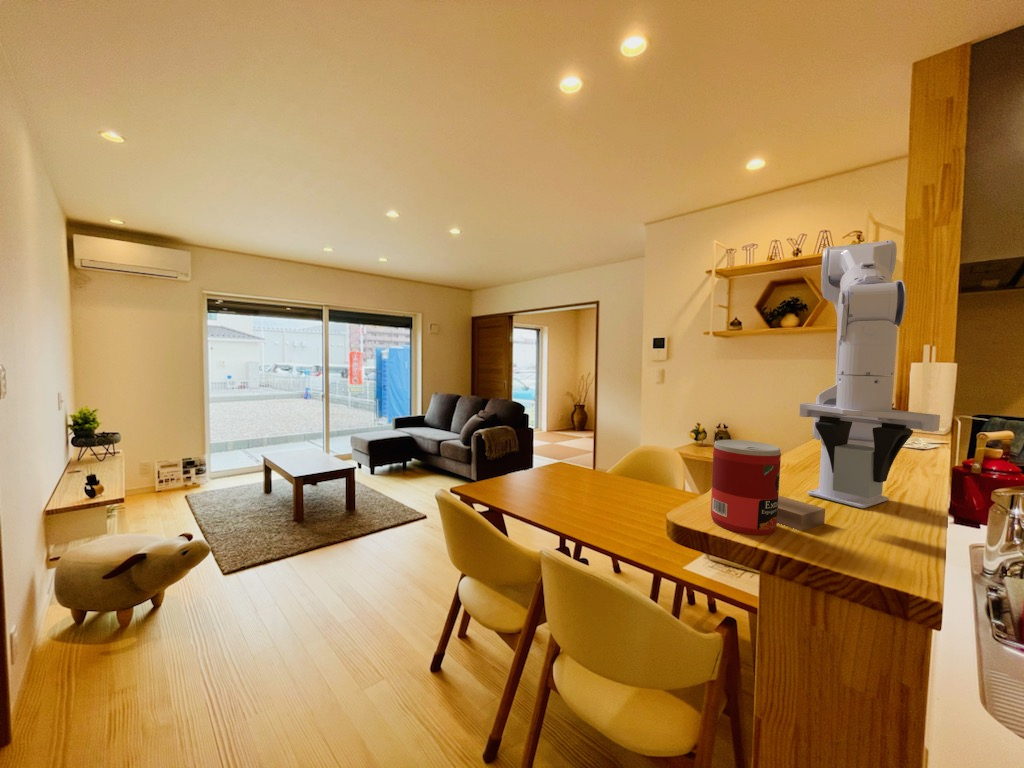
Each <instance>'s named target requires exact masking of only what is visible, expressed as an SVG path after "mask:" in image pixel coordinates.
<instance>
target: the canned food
mask: <svg viewBox="0 0 1024 768" xmlns="http://www.w3.org/2000/svg"><path fill="white" fill-rule="evenodd" d="M781 453H782V451H781V448H780V447H778V446H776V445H774V444H770V443H769V444H768V443H765V442H761V441H760V442H759V441H752V440H744V439H743V440H742V439H719V440H715V441H714V445H713V452H712V455H713V456H712V471H711V473H712V477H711V499H710V501H711V503H710V516H711V519H712V521H713V522H714V523H715V524H716V525H718V526H719V527H721V528H723V529H726V530H728V531H732V532H734V533H739V534H743V533H744V535H750V534H751V535H752V536H767V535H771V534H773V533H774V532H775V531H776V527H777V524H778V523H777V511H778V497H779V496H780V494H779V491H780V477H781V476H780V474H781V457H782V455H781ZM751 535H750V536H751Z"/></svg>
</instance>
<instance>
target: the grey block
mask: <svg viewBox="0 0 1024 768" xmlns="http://www.w3.org/2000/svg"><path fill="white" fill-rule="evenodd" d="M874 460H875V448H874V447H867V446H861V445H854V444H845V445H840V446H835V455H834V475H833V490H834V491H838V492H843V493H847V494H851V495H855V496H860V497H864V498H868V499H869V498H872V497H875V496H878V495H880V494H882V495H883V486H884V482H881V483H878V482H874V480H873V468H874Z"/></svg>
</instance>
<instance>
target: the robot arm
mask: <svg viewBox="0 0 1024 768" xmlns="http://www.w3.org/2000/svg"><path fill="white" fill-rule="evenodd" d="M897 251H898V250H897V243H896V242H895V241H894V239H887V240H883V241H882V240H881V241H872V242H865V243H856V244H845V245H836V246H830V245H829V246H826V247H825V248H824V249H822V256H821V257H822V259H821V274H820V275H821V276H820V280H821V287H820V289H821V290H820V291H821V293H822V298H823V299H824V300H826V301H828V302H830V303H831V302H832V303H833V306H834V308H835V309H834V310H835V312H836V317H837V318H836V319H837V320H836V321H837V324H836V325H837V326H836V328H837V329H836V350H835V351H836V352H835V353H836V354H835V355H836V356H835V358H836V359H835V384H834V385H833V386H831V387H829V388H827V389H825V390H823V391H821V392H819V393H818V394H817V396H816V398H815V403H814V402H813V403H811V402H804V403H802V402H801V403H799V414H798V415H799V417H801V418H802V417H803V418H813V419H812V420H813V423H812V436H813V438H814V439H816V440H817V441H820V442H821V443H820V445H821V447H820V448H821V450H820V462H819V479H818V488H816V489H812V490H808V491H807V495H809V496H813V497H816V498H817V497H818V498H821V499H824V500H829V501H831V502H832V501H833V502H837V503H840V504H844V505H849V506H851V507H857V508H859V509H860V508H861V509H867V508H869V507H873V506H874V505H878V504H881V503H884V502H887V501H889V499H890V498H889V497H888V496H885V495H883V493H882V494H880V495H878V496H875V497H872V498H869V499H868V498H864V497H860V496H855V495H851V494H847V493H843V492H838V491H834V490H833V475H834V455H835V446H840V445H845V444H854V445H861V446H867V447H874V448H875V460H874V468H873V480H874V482H878V483H881V482H883V483H884V482H887V481H888V480H887V479H888V476H889V473H890V470H891V468H892V465H893V463H894V461H895V459H896V457H897V456H898V454H899V452H900V451H901V449H902V448H903V447H904V445H905V443H907V441H908V440H909V439H911V437H912V436H913V433H914V430H919V431H920V430H921V431H923V432H931V433H933V432H938V431H940V422H941V419H940V418H941V415H940V414H936V413H935V414H933V413H923V412H914V411H907V410H906V411H905V410H897V409H893V397H894V382H895V367H896V353H897V341H898V340H897V339H898V328H899V327H901V325H902V324H903V321H904V318H905V314H906V308H907V291H906V290H907V289H906V285H905V282H904V281H903V280H902V279H901V280H895V281H893V278H892V277H893V275H894V272H895V268H896V262H897V253H898V252H897Z"/></svg>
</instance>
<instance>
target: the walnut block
mask: <svg viewBox="0 0 1024 768" xmlns="http://www.w3.org/2000/svg"><path fill="white" fill-rule="evenodd" d="M825 518H826V508H825V507H821V506H817V505H814V504H810V503H807V502H803V501H799V500H795V499H792V498H789V497H785V496H782V495H778V511H777V524H778V523H779V524H778V525H781V524H782V526H784V525H785V526H784V527H787V526H788V527H787V528H790V529H793V528H794V529H793V530H795V531H799V532H803V531H806V530H809V529H812V528H815V527H817V526H821V525H824V524H825V521H826V519H825Z"/></svg>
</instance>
